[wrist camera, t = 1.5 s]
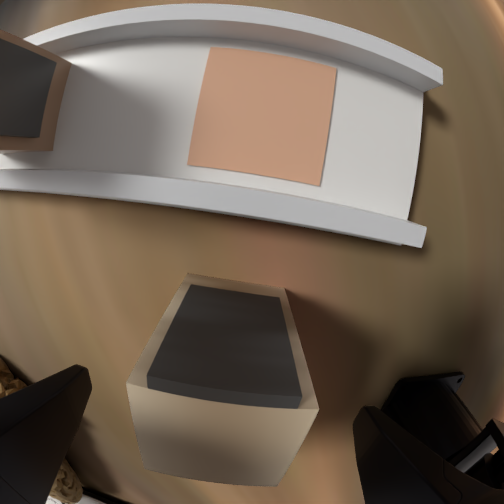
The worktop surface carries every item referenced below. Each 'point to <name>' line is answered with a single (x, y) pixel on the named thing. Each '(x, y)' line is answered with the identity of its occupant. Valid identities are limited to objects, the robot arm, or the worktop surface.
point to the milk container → (83, 499)
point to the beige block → (223, 385)
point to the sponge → (66, 480)
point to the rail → (219, 116)
